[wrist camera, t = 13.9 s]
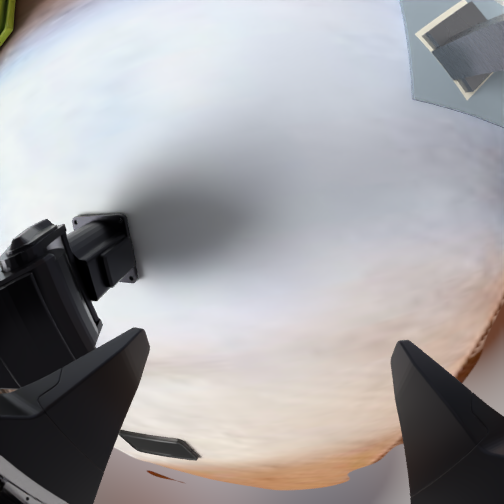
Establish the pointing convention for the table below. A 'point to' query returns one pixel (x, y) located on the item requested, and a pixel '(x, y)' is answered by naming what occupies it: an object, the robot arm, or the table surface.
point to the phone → (159, 445)
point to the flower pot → (6, 19)
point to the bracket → (468, 45)
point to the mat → (433, 73)
